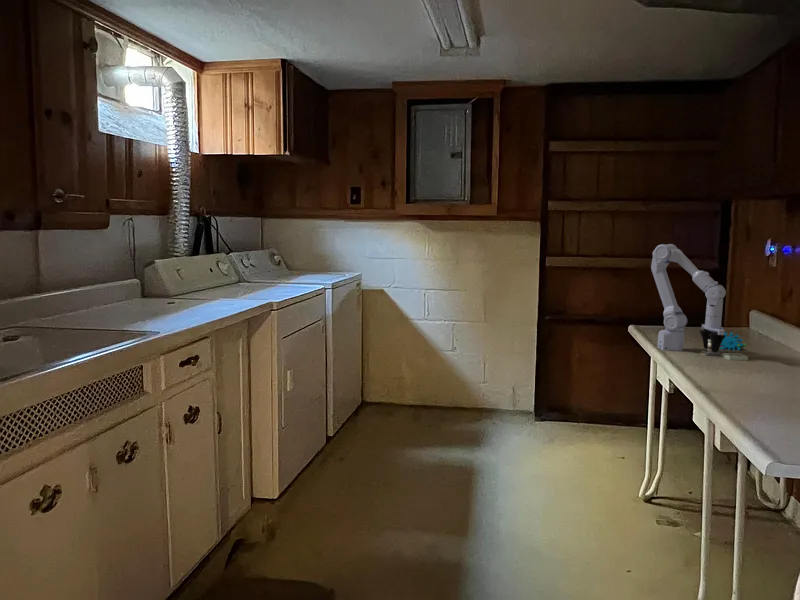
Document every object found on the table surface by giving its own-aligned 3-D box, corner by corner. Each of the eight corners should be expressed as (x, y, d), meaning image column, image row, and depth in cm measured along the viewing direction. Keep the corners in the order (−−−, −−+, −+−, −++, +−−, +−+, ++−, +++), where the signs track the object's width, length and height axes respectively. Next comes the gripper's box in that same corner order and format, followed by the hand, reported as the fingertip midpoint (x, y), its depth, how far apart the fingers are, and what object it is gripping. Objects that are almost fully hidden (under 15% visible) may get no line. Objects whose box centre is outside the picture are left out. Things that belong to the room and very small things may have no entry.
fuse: (708, 355, 265) (709, 340, 264) (705, 353, 267) (706, 339, 267) (715, 355, 265) (717, 340, 264) (712, 353, 267) (713, 339, 267)
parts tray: (729, 362, 256) (729, 356, 256) (721, 359, 262) (721, 353, 262) (747, 363, 257) (747, 356, 256) (739, 359, 263) (739, 353, 262)
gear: (714, 347, 278) (719, 328, 283) (712, 355, 283) (717, 337, 288) (743, 354, 273) (748, 335, 278) (741, 362, 278) (746, 343, 283)
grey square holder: (705, 358, 263) (705, 353, 263) (698, 355, 269) (699, 350, 269) (722, 359, 263) (722, 353, 263) (715, 356, 269) (715, 350, 269)
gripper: (733, 318, 257) (730, 354, 259) (714, 313, 271) (712, 346, 273) (714, 318, 257) (712, 353, 259) (697, 313, 271) (694, 346, 273)
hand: (710, 350), depth 266 cm, fingers open, 6 cm apart
